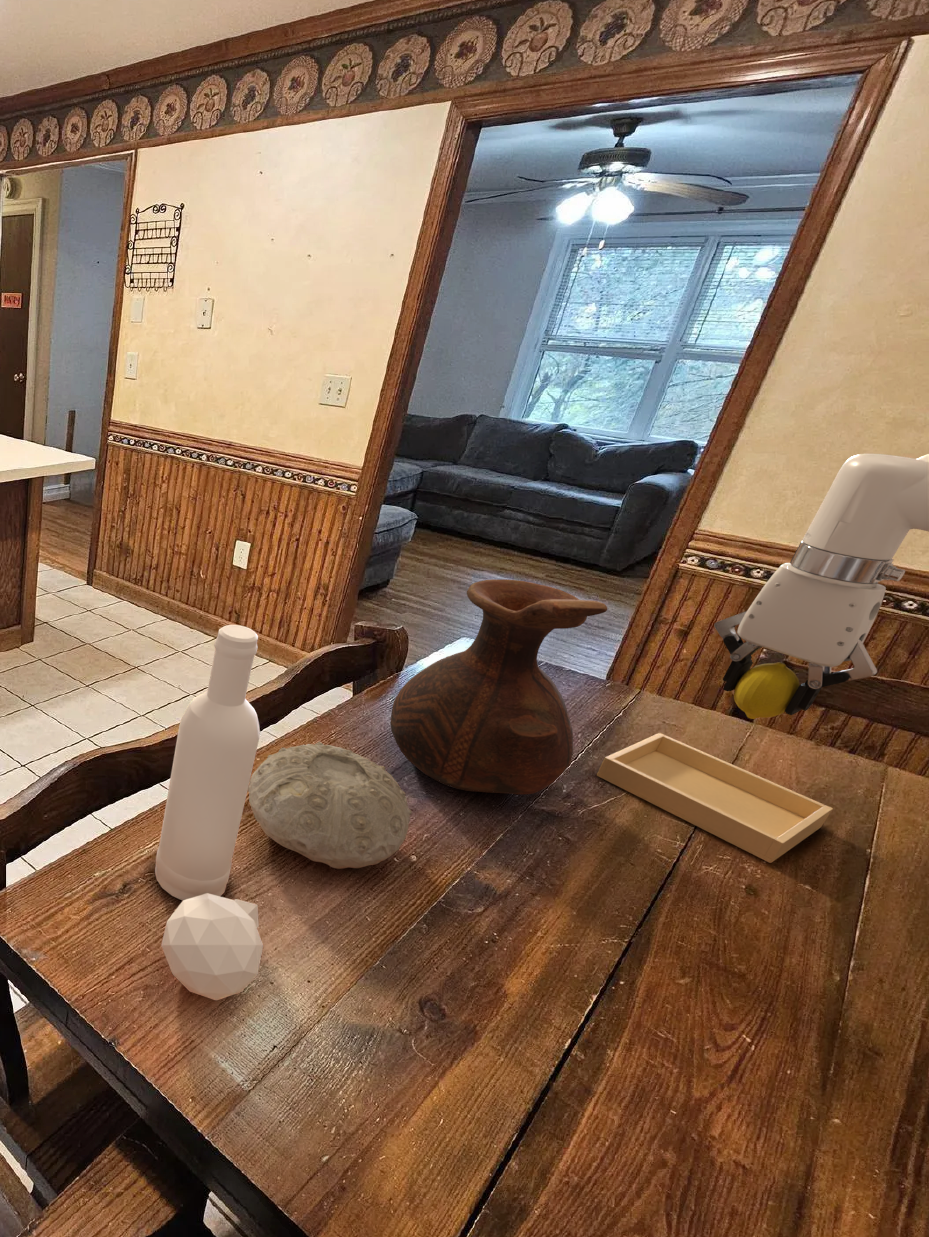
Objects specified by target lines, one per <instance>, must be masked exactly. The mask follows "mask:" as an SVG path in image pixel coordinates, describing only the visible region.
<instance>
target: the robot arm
mask: <svg viewBox="0 0 929 1237" xmlns="http://www.w3.org/2000/svg"><path fill="white" fill-rule="evenodd" d="M910 530H920V531H924V532H929V453H927V454H925V455H922V456H920V457H918V458H913V457H909V456H908V457H907V456H900V455H893V454H884V453H860V454H856V455H853V456H850V457H849V458H848V459H847V460H845V462H844V463H843V464H842V466H841V467H840V469H839V470H838V472H837V473H836V476H835V478H834V480H833V481H832V483H831V485H830V487H829V489H828V490H827V492H826V494H825V496H824V498H823V500H822V501H821V504H820V506H819V508H818V510H817V511H816V513H815V515H814V517H813V519H812V521H811V523H810V524H809V526H808V529H807V530H806V532H805V534H804V536H803V538H802V539H801V541H800V543H799V545H798V547H797V548H796V551H795V552H794V554H793V556H792V557H791V560H790V562H784V563H783V564H781V565H780V566H779V567H777V569H776V570H775V571H774V573H773V574H772V575H771V576H770V578H769V579H768V580H767V581H766V582H765V584H764V585H763V587H762V588H761V590H760V591H759V592H758V594H757V596H756V597H755V598H754V600H753V601H752V602H751V604H750V606H749V607H748V609H747V610H745V611H742V612H740V613H738V614H734V615H732V616H729V617H727V618H724V619H721V620H717V621H715V622H714V624H713V627H714V629H715V630H716V632H717V633H718V635H719V636H720V637H721V639H722V642H723V644H724V646H725V647H726V649H727V651H728V653H729V658H730V660H731V661H730V664H729V666H728V668H727V669H726V672H725V673H724V675H723V677H722V681H723V682H725V684H724V686H723V688H722V690H723V691H726V692H732V691H734V690H735V687H736V684H737V682H738V681H739V679H740V678H741V677H742V676H743V675H744V674H745V673H746V672H747V671H748V670H749V669H751V668H752V666H753V664H754V662H753V659H752V658H753V657H752V656H753V655H754V654H755V653H757V652H758V651H759V650H760V649H761V648H764V649H767V650H770V651H773V652H777V653H780V654H782V655H785V656H789V657H792V658H795V659H798V660H801V661H804V662H807V663H808V673H807V679H806V681H805V682H804V683H801V684H799V687H798V689H797V690H796V692H795V694H794V696H793V697H792V699H791V701H790V702H789V704H788V706H787V708H786V709H785V711H784V713H785V714H786V715H789V716H793V715H795V714H797V713H799V712H800V711H801V710H802V711H803V712H804V711H807V710H809V709H810V708H811V706H812V705H813V703H814V701H815V699H816V698H817V696H818V695H819V693H820V691H821V689H822V688H824V687H825V688H826V687H828V686H829V687H830V686H835V685H837V684H842V683H846V682H851V681H857V680H862V679H868V678H871V677H873V676H875V675H876V674H877V673H878V669H877V667H876V665H875V664H874V662H873V660H872V658H871V656H870V654H869V652H868V650H867V649H866V647H865V644H864V642H865V641H866V638H867V637H868V634H869V632H870V630H871V628H872V626H873V624H874V623H875V620H876V618H877V616H878V613H879V611H880V609H881V606H882V604H883V601H884V598H885V594H886V589H887V587H886V586H885V585H883V584H880V583H879V582H882V581H890V580H891V581H895V582H900V580H902V578H903V576H904V575H905V573H906V569H901V568H898V567H897V566H895V565H894V563H893V562H894V560H895V559H894V556H895V554H896V553H897V551H898V550H899V548H900V546H901V544H902V543H903V542H904V540H905V538H906V536H907V535H908V533H909V531H910ZM736 626H738V627H737V630H736ZM743 640H744V641H745V642H744V641H743ZM850 661H851V663H852V665H853V668H848V669H841V670H838V671H834V672H832V668H833V667H838V666H840V665H841V664H843V662H850Z"/></svg>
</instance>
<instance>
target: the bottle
mask: <svg viewBox="0 0 929 1237" xmlns="http://www.w3.org/2000/svg"><path fill="white" fill-rule="evenodd" d="M258 640H259V636H258V634H257V633H256V631H255V630H253V629H252V628H250V627H248V626H244V625H240V624H227V625H224V626H222V627H220V628H219V629H218V632H217V637H216V638H215V640H214V642H213V643H214V644H213V645H214V654H213V658H212V663H211V669H210V675H209V680H208V685H207V686H208V687H207V690H206V691H205V692H203V693H201V694H199V695H196V696H195V697H194V698H192V699H191V701H190V702H189V703H188V705H187V707H186V708H185V710H184V712H183V714H182V715H181V718H180V721H179V726H178V731H177V737H176V743H175V748H174V755H173V759H172V760H173V761H172V767H171V771H170V779H169V784H168V790H167V796H166V801H165V808H164V813H163V814H164V815H163V821H162V826H161V832H160V837H159V844H158V847H157V851H156V855H155V867H154V874H155V879H156V881H157V883H158V884H159V886H160V887H161V888H162V889H163V890H164V891H165V892H166V893H168V894H169V895H170V896H172V897H174V898H176V899H178V900H181V901H183V900H186V899H190V898H193V897H196V896H200V895H203V894H206V893H209V894H212V895H216V896H220V897H222V895H223V894H224V893H226V888H227V884H228V882H229V879H230V875H231V870H232V865H233V862H232V861H233V857H234V852H235V848H236V843H237V839H238V835H239V830H240V825H241V822H242V817H243V813H244V809H245V808H244V807H245V803H246V800H247V794H248V787H249V784H250V779H251V776H252V774H253V773H252V772H253V769H254V763H255V760H256V755H257V751H258V747H259V746H258V745H259V742H260V738H261V737H260V736H261V730H260V722H259V718H258V714H257V712H256V710H255V708H254V706H252V704H251V703H250V702H249V701H248V700H247V698H246V696H247V692H248V687H249V682H250V678H251V672H252V668H253V663H254V658H255V656H256V655H257V652H258V648H259V647H258Z"/></svg>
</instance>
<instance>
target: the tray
mask: <svg viewBox="0 0 929 1237" xmlns="http://www.w3.org/2000/svg"><path fill="white" fill-rule="evenodd" d="M596 776H597V777H599V778H600V779H602V780H605V781H606V782H609V783H610V784H612V785H614V786H616V787H619V788H620V789H622V790H624V791H626V792H628V793H630V794H632V795H634V796H636V797H638V798H640V799H642V800H644V801H646V802H648V803H650V804H652V805H654V806H656V807H658V808H660V809H661V810H664V811H666V812H668V813H670V814H672V815H674V816H676V817H677V818H679V819H682V820H683V821H685V822H688V823H689V824H691V825H693V826H696V827H697V828H700V829H701V830H703V831H705V832H708V833H709V834H711V835H714V836H716V837H717V838H720V839H721V840H723V841H725V842H727V843H729V844H732V845H733V846H735V847H736V848H739V849H741V850H743V851H745V852H747V853H749V854H751V855H753V856H754V857H757V858H759V859H761V860H762V861H765V862H767V863H769V864H771V863H773V862H774V861H776V860H777V859H779V858H780V857H782V856H783V855H784V854H786V853H787V852H788V851H790V850H791V849H793V848H794V847H796V846H798V845H799V844H800V843H802V841H804V840H805V839H806V838H809V836H811V835H812V834H814V833H815V832H816V831H818V830H819V829H820V828H822V826H823V825H824V823H825V822H826V821H827V819H828V818H829V816H830V815H831V813H832V811H833V810H834V808H833V807H831V806H829V805H827V804H824V803H821V802H820V801H817V800H815V799H812V798H810V797H808V796H806V795H803V794H801V793H799V792H796V791H795V790H793V789H789V788H787V787H785V786H782V785H781V784H778V783H776V782H773V781H771V780H769V779H767V778H764V777H763V776H759V775H757V774H755V773H753V772H750V771H748V770H746V769H744V768H742V767H739V766H737V765H735V764H732V763H730V762H728V761H726V760H724V759H721V758H718V757H717V756H713V755H711V754H709V753H707V752H705V751H702V750H700V749H698V748H695V747H693V746H691V745H688V744H686V743H684V742H683V741H680V740H678V739H675V738H672V737H671V736H668V735H666V734H663V733H662V732H658V733H655V734H654V735H652V736H649V737H647V738H645V739H643V740H640V741H638V742H636V743H634V744H632V745H630V746H627V747H625V748H623V749H621V750H618V751H616V752H613V753H611V754H610V755H607V756H605V757H604V759H603V761H602V763H601V764H600V767H599V769H598V771H597V773H596Z"/></svg>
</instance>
